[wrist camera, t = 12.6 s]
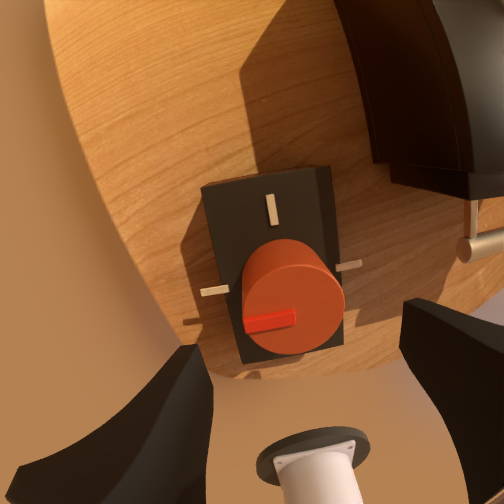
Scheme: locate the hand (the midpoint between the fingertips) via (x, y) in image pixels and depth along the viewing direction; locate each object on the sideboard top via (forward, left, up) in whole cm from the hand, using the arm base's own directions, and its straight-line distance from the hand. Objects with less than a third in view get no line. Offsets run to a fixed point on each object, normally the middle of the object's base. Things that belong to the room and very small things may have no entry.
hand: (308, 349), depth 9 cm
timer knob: (0, 0, -5) cm, 5 cm away
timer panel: (0, 0, -8) cm, 8 cm away
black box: (+13, -13, -8) cm, 20 cm away
